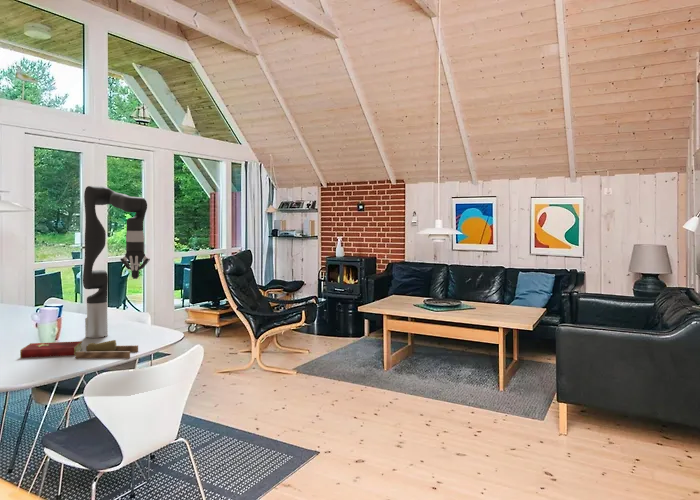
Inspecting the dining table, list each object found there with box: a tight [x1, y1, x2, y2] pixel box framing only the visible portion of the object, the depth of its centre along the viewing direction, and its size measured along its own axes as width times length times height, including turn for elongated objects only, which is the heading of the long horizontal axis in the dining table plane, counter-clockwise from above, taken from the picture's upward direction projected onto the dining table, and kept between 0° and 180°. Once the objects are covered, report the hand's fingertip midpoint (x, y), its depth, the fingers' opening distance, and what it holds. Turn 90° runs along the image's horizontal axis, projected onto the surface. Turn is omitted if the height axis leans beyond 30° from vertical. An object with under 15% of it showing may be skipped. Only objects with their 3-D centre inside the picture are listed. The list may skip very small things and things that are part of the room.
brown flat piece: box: [75, 344, 139, 359], centre depth 220 cm, size 22×11×2 cm, turn 94°
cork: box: [86, 339, 117, 351], centre depth 220 cm, size 6×6×11 cm
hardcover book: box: [19, 340, 83, 359], centre depth 221 cm, size 12×21×4 cm, turn 104°
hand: (135, 278), depth 231 cm, fingers closed
